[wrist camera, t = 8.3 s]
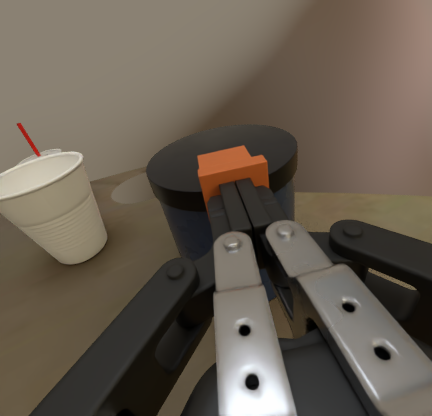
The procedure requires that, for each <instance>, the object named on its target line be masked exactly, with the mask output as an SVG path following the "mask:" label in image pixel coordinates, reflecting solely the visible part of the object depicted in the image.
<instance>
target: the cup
mask: <svg viewBox="0 0 432 416" xmlns="http://www.w3.org/2000/svg"><path fill="white" fill-rule="evenodd" d="M83 159H84V158H83V155H82V154H80V153H78V152H61V153H55V154H51V155H47V156H43V157H40V158H37V159H34V160H31V161H28V162H25V163H23V164H20V165H18V166H16V167H13V168H11V169H9V170H7V171H5V172H3V173H1V174H0V213H1V214H2V215H3V216H4V217H5V218H7V219H8V220H9V221H10V222H12V223H13V224H14V225H16V226H17V227H18V228H19V229H20V230H21V231H23V232H24V233H25V234H26V235H27V236H29V237H30V238H31V239H32V240H34V241H35V242H36V243H37V244H38V245H40V246H41V247H42V248H43V249H45V250H46V251H47V252H48V253H49V254H51V255H52V256H53V257H54V258H55V259H57V260H58V261H59V262H60V263H62V264H77V263H81V262H84V261H86V260H88V259H90V258H92V257H93V256H95V255H96V254H97V253H98V252H99V251H100V250H101V249H102V248H103V247H104V245H105V243H106V241H107V233H106V230H105V227H104V224H103V221H102V218H101V215H100V212H99V209H98V206H97V204H96V200H95V197H94V194H93V191H92V188H91V185H90V182H89V179H88V176H87V173H86V170H85V168H84V165H83Z"/></svg>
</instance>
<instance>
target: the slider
mask: <svg viewBox="0 0 432 416" xmlns="http://www.w3.org/2000/svg"><path fill="white" fill-rule="evenodd" d="M197 158H198V164H199V169H198V177H199V181H200V185H201V189H202V193H203V197H204V201H205V205H206V209H207V213H208V207H207V203H208V201H209V198H210V197H212V196H217V195H221V194H220V189H219V184H223V183H227V182H232V181H234V183H235V181H236V180H241V179H245V178H251V180H252V182H253V184H254V186H255V187H257V186H261V185H264V186H265V187H267V188H269V179H268V165H267V160H266V159H265V158H264V156H263V155H259V156H254V157H251V156H250V154H249V153H248V151H247V149H246V148H245V146H244V145H243V146H238V147H234V148H230V149H225V150H221V151H216V152H212V153H207V154H203V155H199V156H197ZM208 217H209V213H208ZM209 221H210V219H209Z"/></svg>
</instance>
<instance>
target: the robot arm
mask: <svg viewBox="0 0 432 416" xmlns="http://www.w3.org/2000/svg"><path fill="white" fill-rule="evenodd" d="M219 189H220V194H221V195H217V196H212V197H210V198H209V201H208V203H207V207H208V213H209V219H210V225H211V231H212V236H213V245H212V247H211V249H210V250H209V252H208V253H207V254H205V255H204V256H203V257H201V258H199V259H197V260H195V261H192V260H190V259H188V258H175V259H172V260H170V261H168V262H166V263H165V264H164V265H162V266H161V268H160V269H159V270H158V271H157V272H156V273H155V274H154V275H153V277H152V278H151V279H150V280H149V281H148V282H147V283H146V284H145V285H144V287H143V288H142V289H141V290H140V291H139V292H138V293H137V294H136V296H135V297H134V298H133V299H132V300H131V301H130V302H129V303H128V305H127V306H126V307H125V308H124V309H123V310H122V311H121V312H120V314H119V315H118V316H117V317H116V318H115V319H114V320H113V321H112V323H111V324H110V325H109V326H108V327H107V328H106V329H105V330H104V332H103V333H102V334H101V335H100V336H99V337H98V338H97V339H96V341H95V342H94V343H93V344H92V345H91V346H90V347H89V348H88V350H87V351H86V352H85V353H84V354H83V355H82V356H81V357H80V359H79V360H78V361H77V362H76V363H75V364H74V365H73V366H72V367H71V369H70V370H69V371H68V372H67V373H66V374H65V375H64V376H63V378H62V379H61V380H60V381H59V382H58V383H57V384H56V385H55V387H54V388H53V389H52V390H51V391H50V392H49V393H48V394H47V396H46V397H45V398H44V399H43V400H42V401H41V402H40V403H39V405H38V406H37V407H36V408H35V409H34V410H33V411H32V412H31V414H30V415H29V416H156V415H157V414H158V412H159V410H160V409H161V407H162V405H163V404H164V402H165V400H166V398H167V397H168V395H169V393H170V392H171V390H172V388H173V387H174V385H175V383H176V382H177V380H178V378H179V376H180V375H181V373H182V371H183V370H184V368H185V366H186V365H187V363H188V361H189V360H190V358H191V356H192V355H193V353H194V351H195V349H196V348H197V346H198V344H199V343H200V341H201V339H202V338H203V336H204V334H205V333H206V331H207V329H208V327H209V326H210V324H211V321H212V317H213V316H214V322H215V343H216V363H214V364H213V365H212V366H211V367H210V368H209V369H208V370H207V371H206V372H205V373H204V375H203V376H202V377H201V378H200V380H199V381H198V383H197V384H196V386H195V388H194V390H193V391H192V393H191V395H190V397H189V399H188V401H187V403H186V405H185V407H184V409H183V411H182V413H181V415H180V416H432V244H431V243H427V242H424V241H421V240H418V239H415V238H412V237H408V236H405V235H402V234H399V233H396V232H392V231H389V230H386V229H383V228H380V227H377V226H373V225H370V224H367V223H364V222H361V221H357V220H341V221H338V222H336V223H334V224H333V225H332V226H331V228H330V232H307V231H306V230H305V229H304V227H303V226H302V225H300V224H299V223H297V222H294V221H290V220H289V218H288V217H287V215H286V214H285V212H284V210H283V209H282V207H281V205H280V204H279V203H278V201H277V199H276V197H275V196H274V194H273V192H272V191H271V190H270V189H269V188H267V187H265V186H264V185H261V186H257V187H255V186H254V184H253V182H252V180H251V178H245V179H241V180H236V181H235V183H234V181H232V182H227V183H223V184H219ZM258 268H259V269H258ZM369 268H371V269H374V270H376V271H378V272H381V273H383V274H386V275H388V276H390V277H393V278H395V279H398V280H400V281H402V282H405V283H407V284H409V285H411V286H413V287H414V288H416V289H417V290H411V289H408V288H405V287H403V286H400V285H398V284H396V283H393V282H391V281H389V280H386V279H384V278H382V277H379V276H377V275H375V274H372V273H370V272H368V269H369ZM261 269H266V272H267V274H268V277H269V279H270V284H271V287H272V289H273V291H274V293H275V295H276V297H277V299H278V301H279V303H280V305H281V308H282V310H283V312H284V314H285V316H286V318H287V320H288V322H289V324H290V327H291V329H292V333H293V337H294V339H288V338H277V334H276V330H275V326H274V322H273V318H272V314H271V310H270V306H269V302H268V298H267V294H266V290H265V287H264V284H262V281H261V277H260V273H259V270H261Z"/></svg>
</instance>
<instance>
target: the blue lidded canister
mask: <svg viewBox="0 0 432 416" xmlns="http://www.w3.org/2000/svg"><path fill="white" fill-rule="evenodd" d="M243 145H244V146H245V148H246V149H247V151H248V153H249V154H250V156H251V157H254V156H259V155H263V156H264V158H265V159H266V160H267V165H268V179H269V189H270V190H271V191H272V192H273V194H274V196H275V197H276V199H277V201H278V203H279V204H280V205H281V207H282V209H283V210H284V212H285V214H286V215H287V217H288V218H289V220H290V221H294V175H295V172H296V170H297V147H298V146H297V141H296V140H295V138H294V137H293V136H292V135H291V134H290V133H289V132H287V131H285V130H283V129H280V128H276V127H272V126H266V125H234V126H225V127H219V128H214V129H209V130H206V131H202V132H198V133H195V134H192V135H189V136H187V137H184V138H182V139H180V140H177V141H175V142H173V143H171V144H169V145H168V146H166V147H164V148H163V149H162V150H160V151H159V152H158V153H156V154H155V155H154V156H153V157H152V158H151V160H150V161H149V163H148V165H147V168H146V173H147V177H148V179H149V182H150V185H151V187H152V190H153V193H154V194H155V196H156V197H157V198H158V199H159V201H160V203H161V206H162V208H163V211H164V214H165V216H166V219H167V221H168V224H169V227H170V229H171V232H172V235H173V237H174V240H175V242H176V245H177V248H178V250H179V253H180V256H181V258H188V259H190V260H192V261H195V260H197V259H199V258H201V257H203V256H204V255H205V254H207V253H208V252H209V250H210V249H211V247H212V245H213V236H212V231H211V225H210V221H209V217H208V213H207V209H206V205H205V201H204V197H203V193H202V189H201V185H200V181H199V177H198V169H199V164H198V158H197V156H199V155H203V154H207V153H212V152H216V151H221V150H225V149H230V148H234V147H238V146H243ZM258 269H259V268H258ZM259 273H260V277H261V281H262V284H264V287H265V290H266V294H267V298H268V301H270V300H272V299H274V298H275V297H276V295H275V293H274V291H273V289H272V287H271V284H270V279H269V277H268V274H267V272H266V269H261V270H259Z"/></svg>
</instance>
